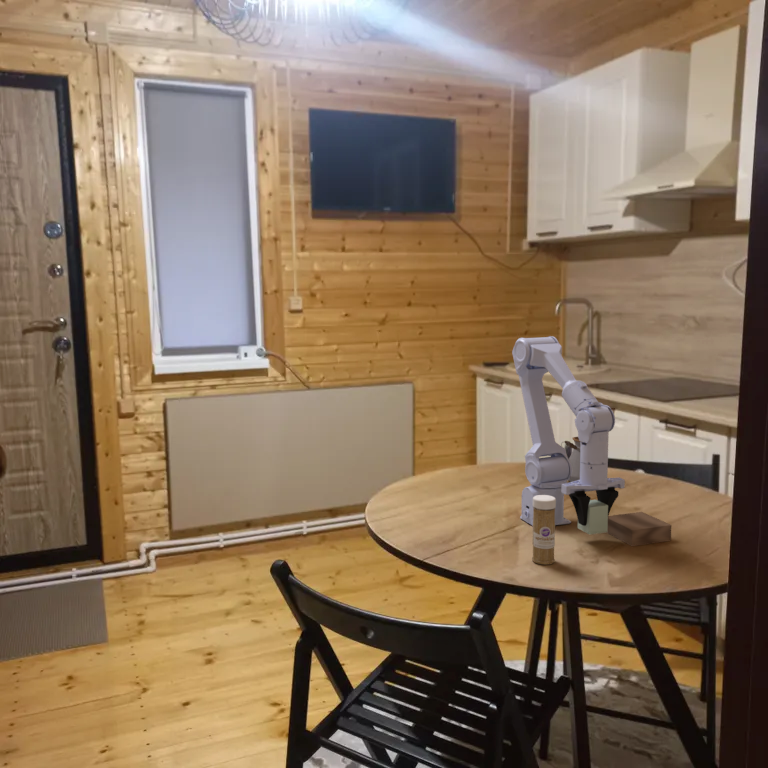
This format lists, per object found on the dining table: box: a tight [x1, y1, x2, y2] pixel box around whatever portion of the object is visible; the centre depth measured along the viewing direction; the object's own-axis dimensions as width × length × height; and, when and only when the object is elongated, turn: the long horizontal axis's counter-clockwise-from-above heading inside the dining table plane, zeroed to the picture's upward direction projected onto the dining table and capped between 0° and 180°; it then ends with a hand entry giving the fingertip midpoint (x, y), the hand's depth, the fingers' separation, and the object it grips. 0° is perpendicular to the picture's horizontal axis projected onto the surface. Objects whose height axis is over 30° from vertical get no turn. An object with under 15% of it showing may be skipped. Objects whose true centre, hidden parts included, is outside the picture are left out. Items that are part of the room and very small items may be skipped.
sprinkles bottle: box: [531, 495, 556, 566], centre depth 143 cm, size 5×5×13 cm
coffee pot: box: [560, 436, 581, 482], centre depth 197 cm, size 21×12×15 cm, turn 145°
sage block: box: [577, 499, 608, 536], centre depth 154 cm, size 4×4×6 cm
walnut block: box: [605, 511, 672, 547], centre depth 158 cm, size 10×10×4 cm
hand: (592, 522), depth 154 cm, fingers closed on sage block, 4 cm apart
